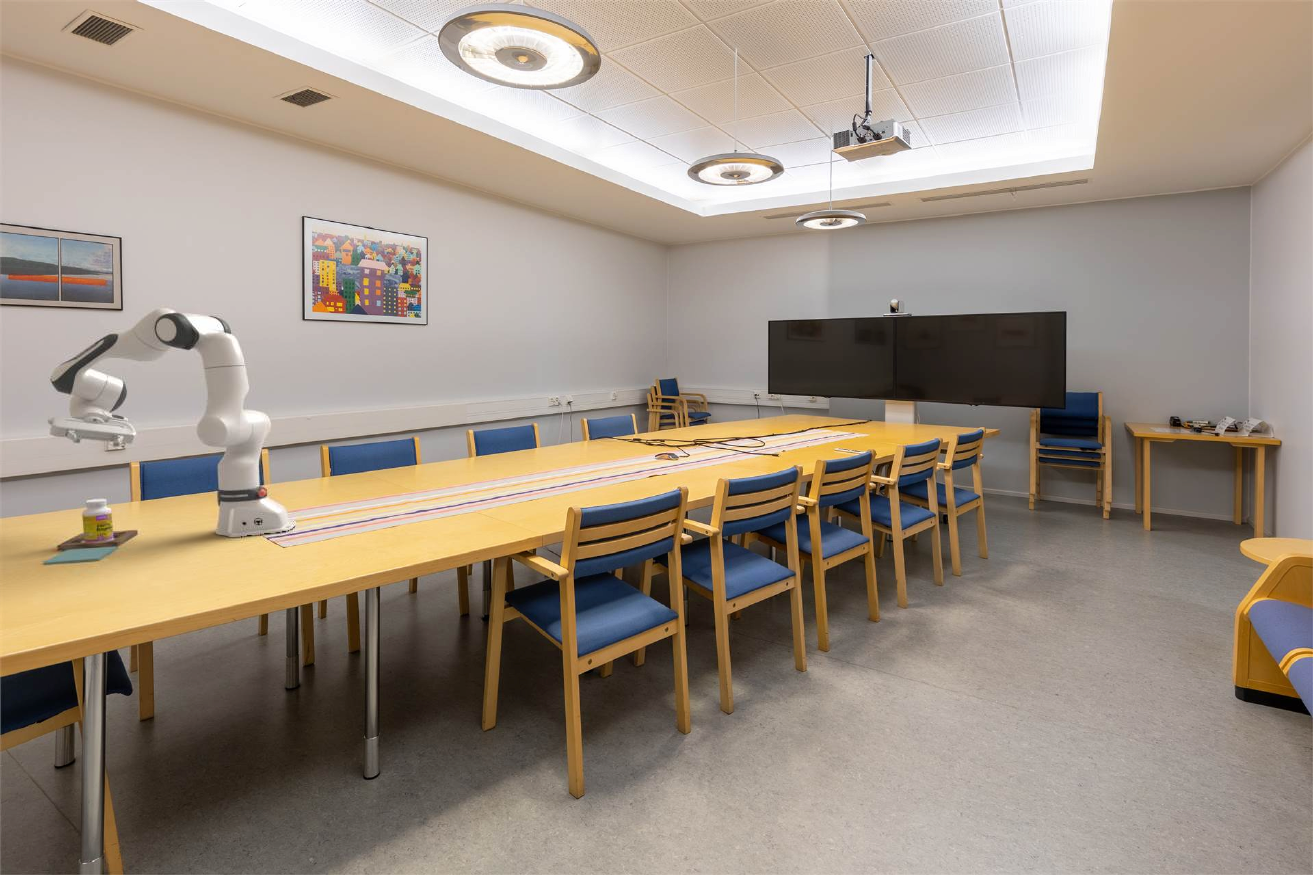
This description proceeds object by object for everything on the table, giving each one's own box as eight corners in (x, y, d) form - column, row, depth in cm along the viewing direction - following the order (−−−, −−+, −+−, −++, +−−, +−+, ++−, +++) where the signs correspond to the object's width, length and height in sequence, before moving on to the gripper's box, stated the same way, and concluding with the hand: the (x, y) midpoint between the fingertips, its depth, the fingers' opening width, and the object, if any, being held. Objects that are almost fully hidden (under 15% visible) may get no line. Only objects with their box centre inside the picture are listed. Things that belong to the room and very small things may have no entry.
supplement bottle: (96, 546, 187) (92, 503, 186) (78, 544, 188) (74, 502, 187) (119, 540, 194) (116, 498, 192) (102, 538, 195) (98, 497, 193)
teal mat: (118, 548, 185) (118, 546, 185) (98, 560, 174) (98, 558, 174) (67, 551, 181) (66, 549, 181) (43, 564, 170) (43, 562, 170)
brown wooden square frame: (137, 534, 200) (137, 529, 200) (117, 546, 187) (117, 541, 187) (82, 537, 195) (81, 533, 195) (57, 550, 182) (57, 545, 182)
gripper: (49, 408, 194) (54, 428, 185) (133, 418, 210) (141, 438, 201) (44, 426, 195) (48, 447, 187) (128, 435, 211) (135, 455, 203)
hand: (97, 442), depth 194 cm, fingers open, 8 cm apart
